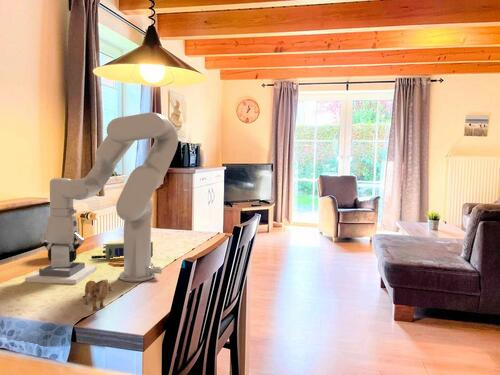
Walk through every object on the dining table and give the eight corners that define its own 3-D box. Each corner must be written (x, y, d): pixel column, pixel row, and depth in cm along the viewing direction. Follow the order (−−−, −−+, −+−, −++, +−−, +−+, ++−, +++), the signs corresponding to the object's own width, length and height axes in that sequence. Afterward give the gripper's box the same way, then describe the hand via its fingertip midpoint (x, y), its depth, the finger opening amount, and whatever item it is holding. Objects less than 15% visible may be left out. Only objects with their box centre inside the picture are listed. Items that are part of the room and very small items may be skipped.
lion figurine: (116, 309, 112) (116, 279, 111) (99, 315, 108) (99, 283, 107) (90, 296, 121) (89, 268, 120) (73, 301, 117) (73, 272, 116)
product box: (55, 262, 142) (55, 243, 141) (73, 262, 143) (73, 242, 143) (50, 267, 136) (50, 247, 135) (69, 266, 138) (69, 246, 137)
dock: (96, 269, 148) (96, 261, 147) (76, 283, 132) (76, 274, 132) (51, 268, 149) (51, 259, 148) (25, 281, 133) (25, 272, 132)
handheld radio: (152, 257, 168) (91, 261, 160) (152, 256, 171) (91, 259, 163) (152, 242, 167) (91, 245, 159) (152, 241, 171) (91, 244, 163)
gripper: (90, 211, 141) (90, 258, 143) (44, 209, 142) (44, 256, 144) (80, 214, 134) (80, 264, 136) (31, 212, 135) (32, 262, 136)
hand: (62, 260), depth 140 cm, fingers closed on product box, 7 cm apart
